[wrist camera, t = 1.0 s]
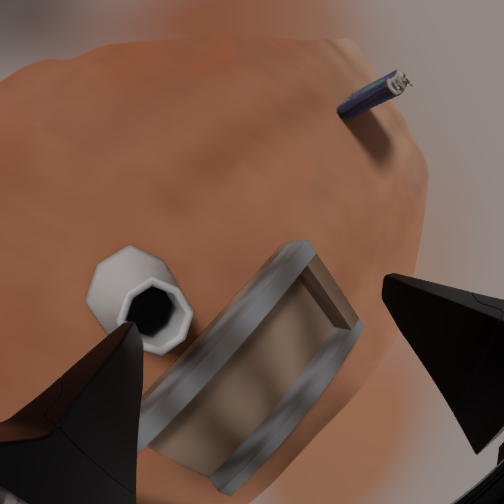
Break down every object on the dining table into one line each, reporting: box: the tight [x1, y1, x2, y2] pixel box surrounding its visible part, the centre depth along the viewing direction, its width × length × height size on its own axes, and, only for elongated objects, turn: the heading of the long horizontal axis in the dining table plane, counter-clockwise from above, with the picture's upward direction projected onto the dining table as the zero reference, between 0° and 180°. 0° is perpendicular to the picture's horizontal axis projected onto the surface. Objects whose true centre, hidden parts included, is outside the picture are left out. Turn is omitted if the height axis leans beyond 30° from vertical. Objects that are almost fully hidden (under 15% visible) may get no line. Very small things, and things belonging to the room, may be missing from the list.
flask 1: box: [85, 245, 194, 356], centre depth 15 cm, size 7×7×10 cm
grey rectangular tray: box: [137, 240, 365, 496], centre depth 22 cm, size 22×12×4 cm, turn 134°
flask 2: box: [337, 70, 413, 121], centre depth 30 cm, size 9×3×11 cm, turn 137°
